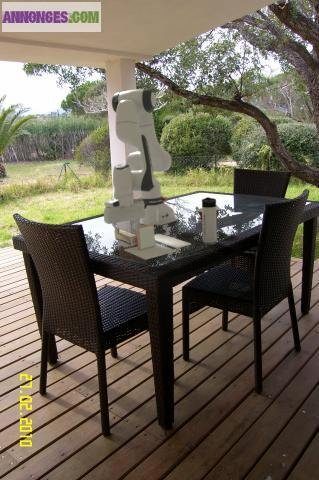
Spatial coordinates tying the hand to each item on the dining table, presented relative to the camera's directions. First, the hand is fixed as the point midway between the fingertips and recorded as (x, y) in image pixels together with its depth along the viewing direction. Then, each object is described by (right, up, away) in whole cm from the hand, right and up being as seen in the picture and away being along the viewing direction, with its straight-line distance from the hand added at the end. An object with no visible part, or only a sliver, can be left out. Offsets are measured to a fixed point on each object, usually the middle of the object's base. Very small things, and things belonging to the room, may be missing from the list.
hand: (126, 230), depth 184 cm
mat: (+11, -10, -14) cm, 21 cm away
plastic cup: (+40, -1, +12) cm, 41 cm away
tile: (+10, -8, -11) cm, 17 cm away
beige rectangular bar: (+1, -6, +2) cm, 6 cm away
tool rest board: (+19, -6, -2) cm, 20 cm away
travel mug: (+38, -6, -6) cm, 39 cm away
